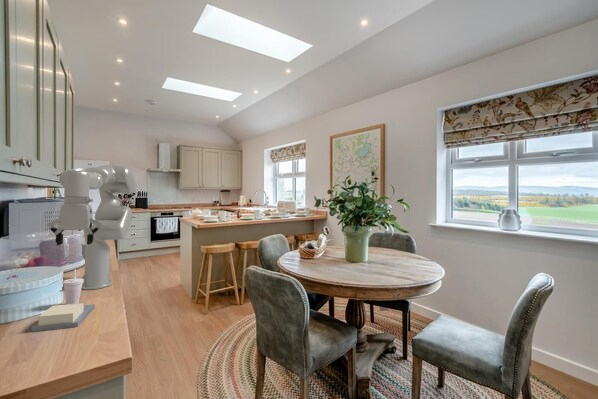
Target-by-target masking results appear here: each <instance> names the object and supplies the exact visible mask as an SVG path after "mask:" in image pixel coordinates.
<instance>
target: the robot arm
mask: <svg viewBox="0 0 598 399" xmlns="http://www.w3.org/2000/svg"><path fill="white" fill-rule="evenodd" d="M58 178H59V180H58V181H59V184H60V185H61V186H62V187H63V188H64V194H63V195H64V197H63V199H64V200H63V203H62V204H61V207H60V210H59V214H58V218H57V219H55V220H53V221H50V222H47V227H48V228H49V230H50V231H51V232H52V233H53V234H54V235H55V243H56V246H60V245H63V243H64V234H63V232H65V231H83V236H84V243H85V259H84V273H83V276H84V282H83V283H82V289H81V290H86V291H87V290H98V289H103V288H104V289H105V288H107V287H109V286H111V285H113V280H111V279H110V254H111V249H110V245H109V244H108V242H106V241H112V240H113V241H119V240H123V239H125V238H126V236H127V235H128V234H127V233H128V232H129V228H130V225H131V222H132V218H133V211H132V208H131V207H130V206H126V205H121V201H120V200H119V198H118V197H117V196H116V195H117V194H121V195H131V194H133V193H135V192H136V190H137V184H136V181H135V178H134V176H133V173H132V171H131V169H130V168H129V167H127V166H125V165H114V164H104V165H100V166H96V167H95V166H94V167H83V168H81V167H80V168H70V169H66V170H64V171H62V172H61V174H60V175H59V177H58ZM90 190H98V192H99V197H100V203H99V204H98V207H97V209H96V211H95V214H94V219H93V208H92V205H91V204H90V203H93V202H94V199H93V198H90V197H89V195H90ZM114 194H116V195H114ZM56 224H57V227H55V225H56Z"/></svg>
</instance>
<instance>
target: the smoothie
mask: <svg viewBox="0 0 598 399" xmlns="http://www.w3.org/2000/svg"><path fill="white" fill-rule="evenodd" d="M76 276H77V269H74V270H73V278H69V279H66V280H63V281H62V285H63V287H64V288H63V290H64V297H65V305H68V304H80V299H81V293H82V290H83V289H82V283H84V279H82V278H83V277H79V278H78V277H76Z"/></svg>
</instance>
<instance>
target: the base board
mask: <svg viewBox="0 0 598 399" xmlns="http://www.w3.org/2000/svg"><path fill="white" fill-rule="evenodd" d="M95 307H96V305H95V303H93V304H92V303H91V304H85V303H84V302H82V303H80V302H79V304H68V305H66V304H57V305H52V306H50V307H49V308H48V309H46V310H45V311H44V312H43V313H42V314H40V315H38V321H37V322H36V323H35V324H33V325H32V326H31V329H30V331H31V332H32V333H33V332H41V331H42V332H43V331H49V330H58V329H67V328H68V329H71V328H78V327H79V326H80V325H81V324H82V323H83V321H84V320H86V318H87V317H88V316H89V315H90V314H91V313H92V311H93V310H94V309H95Z"/></svg>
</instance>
